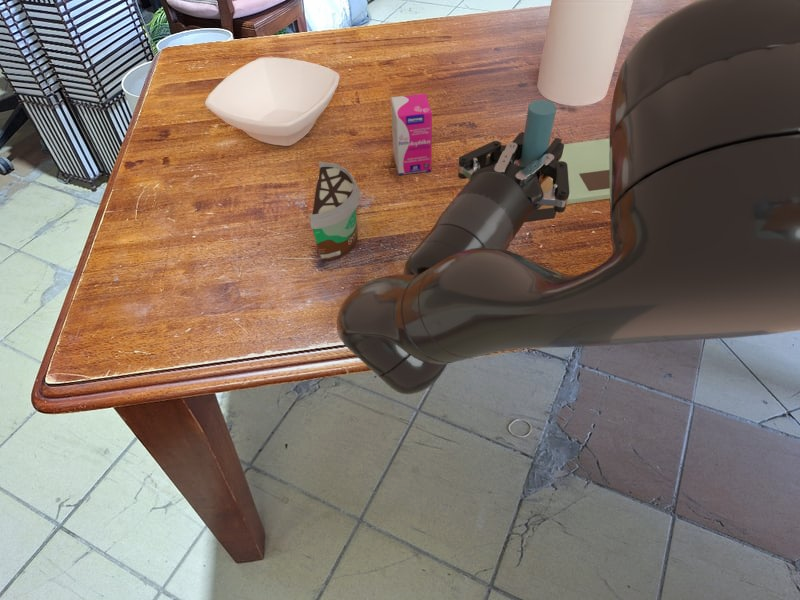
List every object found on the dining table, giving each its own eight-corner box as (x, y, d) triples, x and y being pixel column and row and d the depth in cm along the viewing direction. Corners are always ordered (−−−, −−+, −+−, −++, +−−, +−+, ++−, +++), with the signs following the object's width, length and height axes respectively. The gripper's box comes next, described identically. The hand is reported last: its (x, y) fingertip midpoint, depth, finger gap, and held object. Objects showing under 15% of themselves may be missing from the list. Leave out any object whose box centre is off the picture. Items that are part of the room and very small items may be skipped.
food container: (362, 268, 76) (355, 216, 68) (320, 269, 76) (308, 217, 68) (367, 211, 84) (361, 158, 76) (328, 211, 84) (318, 159, 76)
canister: (533, 70, 109) (550, -39, 93) (599, 69, 108) (628, -42, 92) (541, 106, 100) (562, -7, 85) (614, 105, 100) (648, -10, 84)
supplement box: (398, 177, 89) (395, 116, 80) (393, 156, 92) (389, 95, 83) (432, 172, 89) (432, 111, 80) (425, 152, 93) (425, 91, 84)
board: (653, 137, 93) (655, 132, 92) (693, 187, 84) (695, 182, 83) (521, 154, 91) (522, 149, 90) (547, 207, 83) (548, 202, 82)
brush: (544, 196, 71) (566, 92, 59) (555, 218, 68) (581, 114, 57) (492, 203, 71) (504, 99, 59) (501, 226, 68) (516, 122, 56)
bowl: (205, 148, 96) (188, 106, 89) (269, 92, 108) (258, 51, 101) (300, 176, 90) (290, 132, 83) (358, 113, 101) (353, 70, 95)
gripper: (548, 221, 50) (609, 128, 58) (420, 175, 55) (494, 97, 64) (536, 274, 55) (592, 182, 64) (421, 228, 61) (488, 149, 69)
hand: (543, 140), depth 64 cm, fingers closed on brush, 3 cm apart
